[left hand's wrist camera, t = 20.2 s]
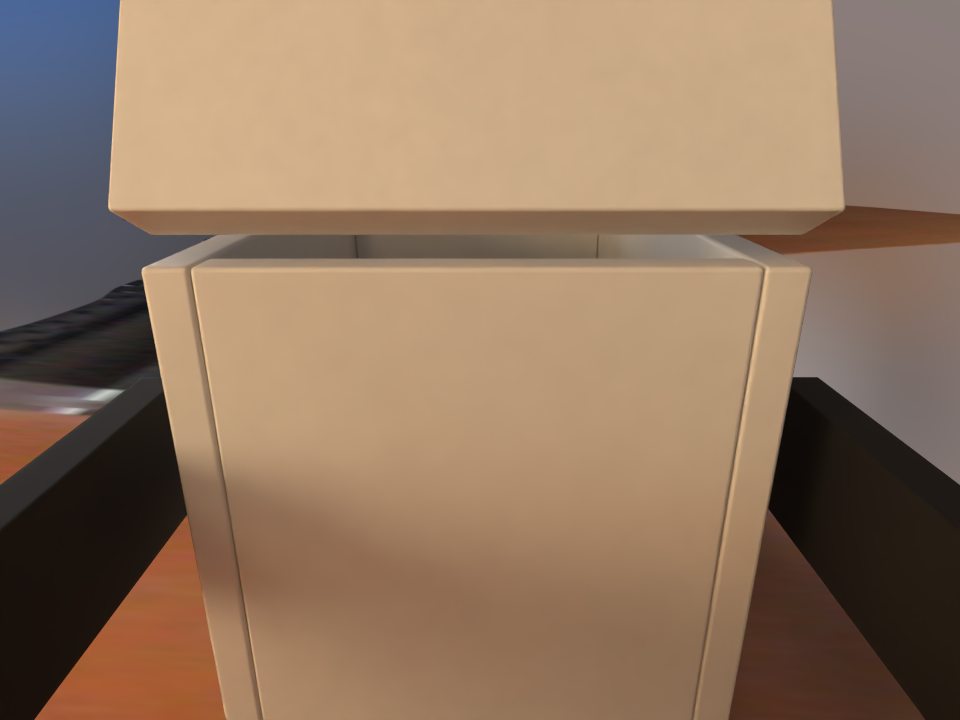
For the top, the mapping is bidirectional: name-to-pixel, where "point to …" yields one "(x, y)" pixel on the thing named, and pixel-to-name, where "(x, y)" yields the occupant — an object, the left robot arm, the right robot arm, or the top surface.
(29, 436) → the top surface
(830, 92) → the lid
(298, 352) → the chest
